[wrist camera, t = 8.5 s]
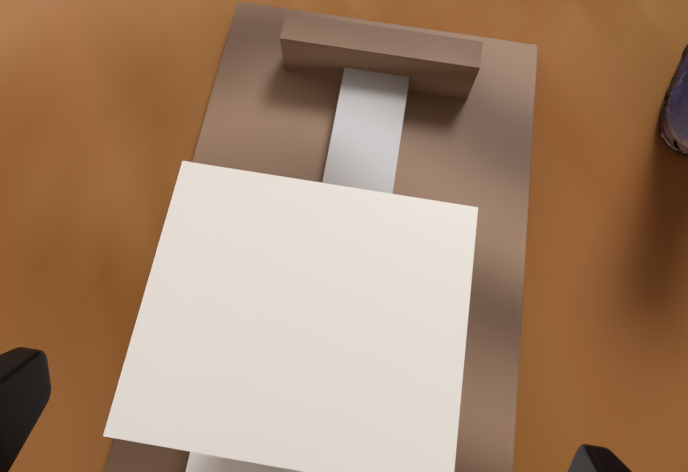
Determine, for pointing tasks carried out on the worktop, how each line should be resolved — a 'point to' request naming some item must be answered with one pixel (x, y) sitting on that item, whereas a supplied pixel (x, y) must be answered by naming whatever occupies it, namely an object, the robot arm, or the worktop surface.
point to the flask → (676, 109)
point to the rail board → (390, 166)
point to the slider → (300, 328)
